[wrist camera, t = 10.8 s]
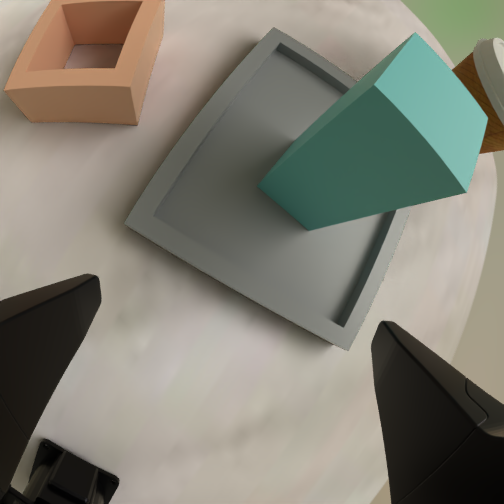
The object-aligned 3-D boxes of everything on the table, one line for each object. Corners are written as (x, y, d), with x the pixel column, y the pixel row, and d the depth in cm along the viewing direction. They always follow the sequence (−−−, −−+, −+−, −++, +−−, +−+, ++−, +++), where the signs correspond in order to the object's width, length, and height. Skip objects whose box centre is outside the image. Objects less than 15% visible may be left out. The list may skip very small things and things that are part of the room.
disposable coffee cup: (426, 79, 26) (504, 30, 14) (471, 155, 27) (556, 127, 15) (377, 101, 23) (474, 35, 12) (432, 194, 24) (543, 165, 13)
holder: (137, 125, 19) (130, 86, 14) (31, 122, 17) (3, 90, 12) (163, 35, 19) (165, -9, 14) (67, 35, 17) (54, -4, 12)
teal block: (309, 230, 20) (466, 192, 8) (256, 186, 19) (373, 84, 7) (342, 182, 21) (488, 118, 9) (295, 140, 20) (415, 32, 8)
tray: (334, 344, 21) (348, 351, 19) (128, 227, 18) (123, 223, 16) (416, 152, 24) (430, 146, 22) (266, 41, 21) (273, 27, 19)
